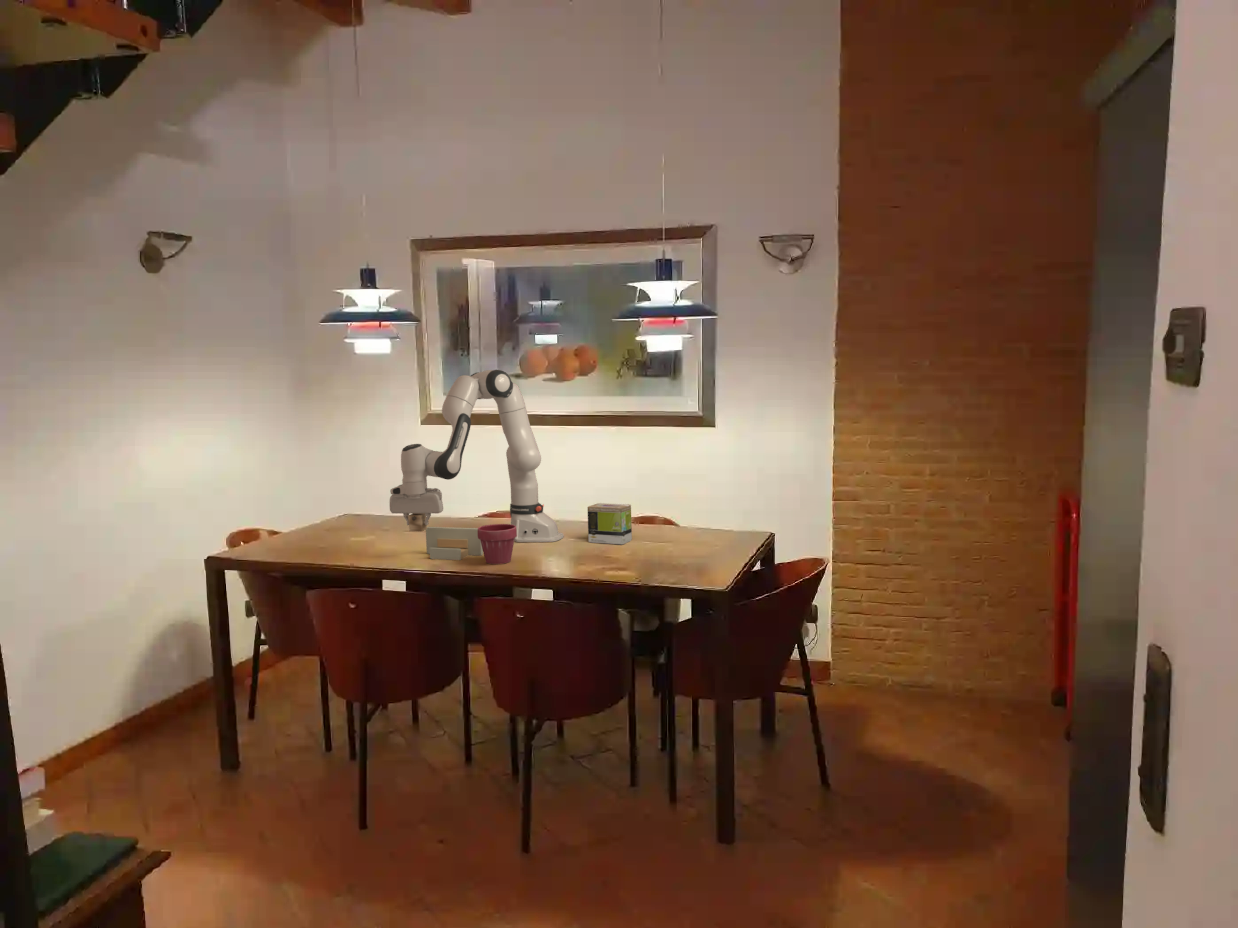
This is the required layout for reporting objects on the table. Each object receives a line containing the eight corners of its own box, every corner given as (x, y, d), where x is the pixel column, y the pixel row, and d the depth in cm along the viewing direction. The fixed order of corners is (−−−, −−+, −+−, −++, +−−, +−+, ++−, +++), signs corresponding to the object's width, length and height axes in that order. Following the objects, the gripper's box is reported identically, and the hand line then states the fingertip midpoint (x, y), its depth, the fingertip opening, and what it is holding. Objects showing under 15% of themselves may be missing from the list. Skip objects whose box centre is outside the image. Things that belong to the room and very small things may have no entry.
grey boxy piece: (483, 554, 351) (482, 528, 350) (472, 560, 341) (471, 533, 340) (429, 552, 356) (427, 526, 355) (417, 558, 346) (416, 531, 345)
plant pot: (480, 557, 346) (479, 523, 344) (518, 556, 347) (517, 522, 345) (477, 566, 331) (475, 531, 330) (516, 565, 332) (515, 530, 331)
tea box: (632, 540, 372) (631, 503, 370) (622, 545, 363) (621, 508, 361) (598, 537, 378) (597, 501, 376) (587, 542, 369) (586, 505, 367)
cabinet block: (426, 528, 348) (425, 513, 347) (420, 532, 343) (419, 516, 342) (414, 528, 349) (413, 513, 348) (408, 531, 344) (407, 516, 343)
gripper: (444, 486, 345) (447, 523, 347) (394, 487, 349) (396, 523, 351) (437, 489, 339) (440, 526, 341) (386, 489, 343) (389, 526, 345)
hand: (417, 525), depth 346 cm, fingers closed on cabinet block, 5 cm apart
